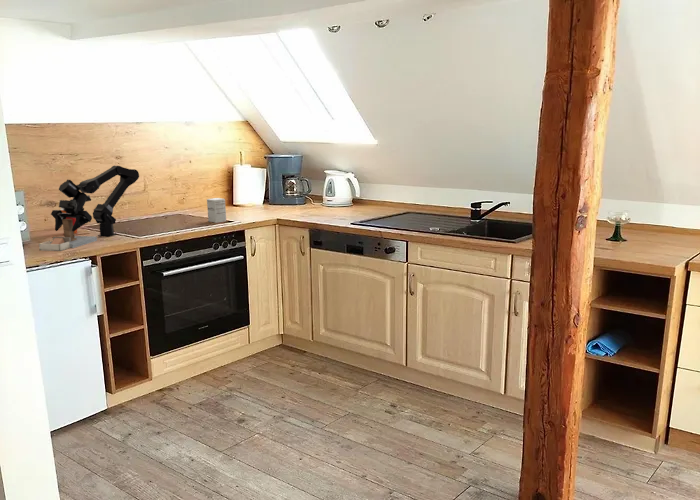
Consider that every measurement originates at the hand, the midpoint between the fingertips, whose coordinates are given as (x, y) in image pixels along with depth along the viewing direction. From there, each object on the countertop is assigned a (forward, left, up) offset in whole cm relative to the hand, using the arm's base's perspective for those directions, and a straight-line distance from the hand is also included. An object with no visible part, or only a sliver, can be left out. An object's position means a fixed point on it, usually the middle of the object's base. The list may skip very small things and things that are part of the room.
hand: (64, 230), depth 285 cm
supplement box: (-71, +41, -7) cm, 82 cm away
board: (-4, 0, -7) cm, 8 cm away
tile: (+5, 0, -5) cm, 7 cm away
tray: (+7, 0, -7) cm, 10 cm away
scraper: (-1, 0, -5) cm, 5 cm away
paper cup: (-27, -19, -7) cm, 34 cm away
